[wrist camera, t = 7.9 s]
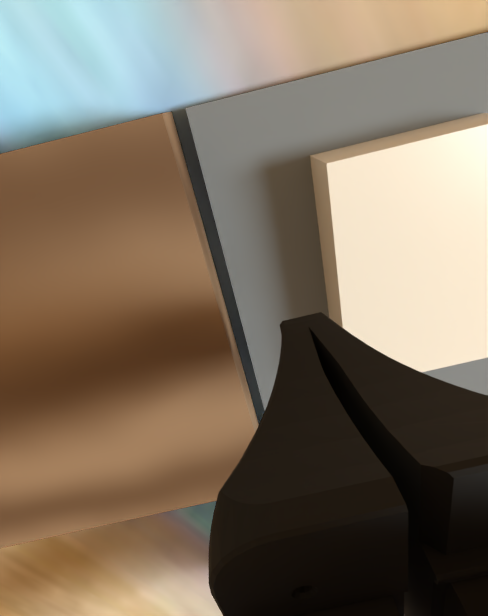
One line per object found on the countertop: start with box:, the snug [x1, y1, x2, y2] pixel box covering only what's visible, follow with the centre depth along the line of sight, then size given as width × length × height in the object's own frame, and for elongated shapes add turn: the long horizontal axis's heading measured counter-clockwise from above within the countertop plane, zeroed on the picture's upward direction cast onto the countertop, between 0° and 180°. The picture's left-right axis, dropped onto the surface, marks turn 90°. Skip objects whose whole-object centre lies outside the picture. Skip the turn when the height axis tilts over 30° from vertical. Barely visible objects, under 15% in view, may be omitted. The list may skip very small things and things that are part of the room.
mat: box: [185, 32, 488, 411], centre depth 16 cm, size 16×14×1 cm
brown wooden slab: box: [0, 112, 259, 548], centre depth 15 cm, size 16×14×3 cm
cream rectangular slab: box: [310, 113, 488, 372], centre depth 14 cm, size 9×6×2 cm, turn 12°
